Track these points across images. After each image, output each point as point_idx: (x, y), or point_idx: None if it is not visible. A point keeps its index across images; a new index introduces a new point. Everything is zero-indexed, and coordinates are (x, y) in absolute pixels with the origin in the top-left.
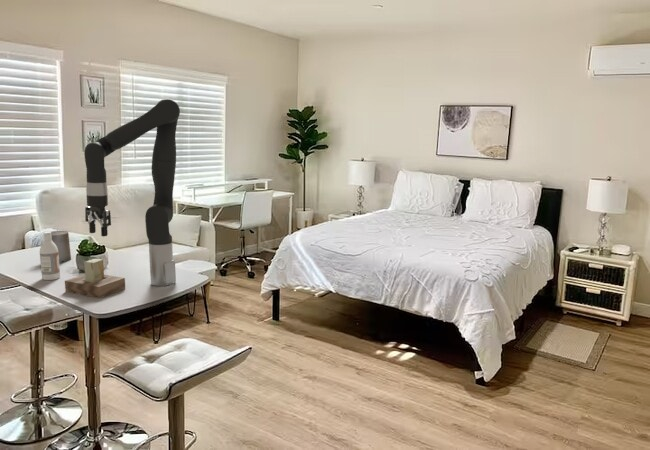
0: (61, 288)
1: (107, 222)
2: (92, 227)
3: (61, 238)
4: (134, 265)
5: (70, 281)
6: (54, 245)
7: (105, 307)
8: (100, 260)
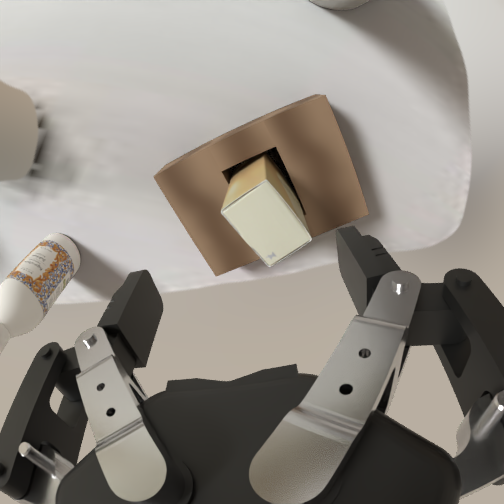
0: (176, 255)
1: (415, 306)
2: (142, 323)
3: None
4: (39, 8)
5: (237, 265)
6: (13, 306)
7: (433, 215)
8: (281, 197)
